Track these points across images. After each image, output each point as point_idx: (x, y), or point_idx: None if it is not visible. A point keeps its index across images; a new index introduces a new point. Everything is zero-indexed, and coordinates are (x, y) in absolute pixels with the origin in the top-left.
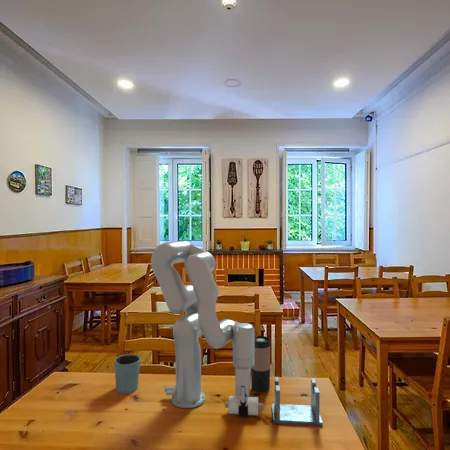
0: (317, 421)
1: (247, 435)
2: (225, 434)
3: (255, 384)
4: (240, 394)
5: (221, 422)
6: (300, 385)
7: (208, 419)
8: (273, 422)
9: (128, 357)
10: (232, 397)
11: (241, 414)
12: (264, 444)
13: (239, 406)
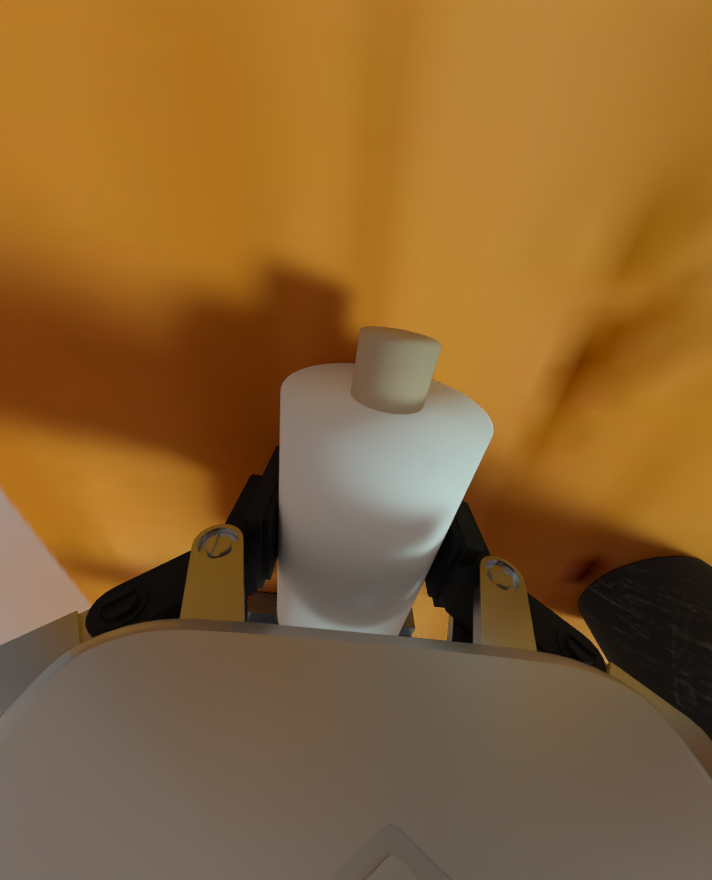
0: None
1: (87, 469)
2: (9, 301)
3: (666, 628)
4: (479, 563)
5: (197, 266)
6: None
7: (229, 38)
8: (252, 597)
9: None
10: (369, 496)
11: (248, 482)
12: (45, 536)
13: (247, 517)
